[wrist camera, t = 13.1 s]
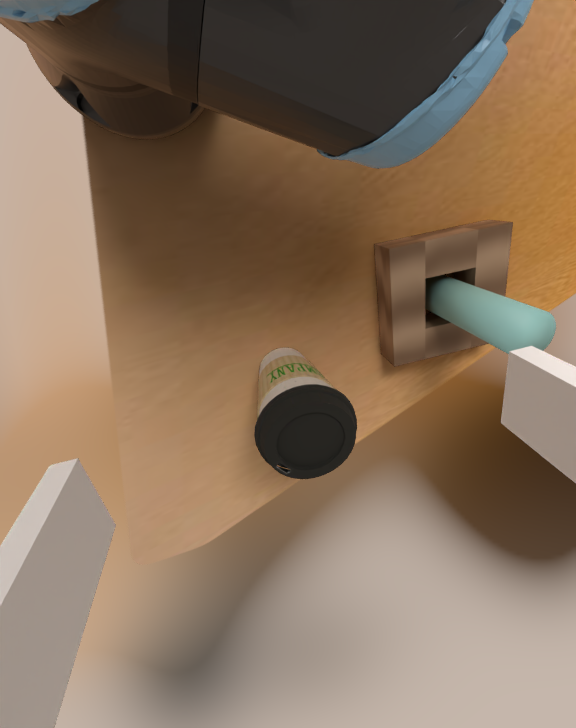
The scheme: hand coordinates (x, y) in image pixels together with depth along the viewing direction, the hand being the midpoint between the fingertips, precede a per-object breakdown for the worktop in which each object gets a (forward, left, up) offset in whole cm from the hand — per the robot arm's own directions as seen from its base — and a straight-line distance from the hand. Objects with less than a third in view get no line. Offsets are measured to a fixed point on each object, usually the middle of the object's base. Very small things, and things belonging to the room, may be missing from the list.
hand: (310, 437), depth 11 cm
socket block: (+8, +22, -32) cm, 39 cm away
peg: (+8, +22, -32) cm, 39 cm away
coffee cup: (+14, +2, -32) cm, 35 cm away
